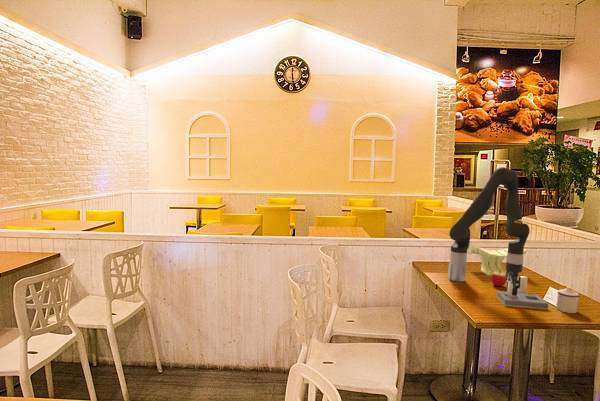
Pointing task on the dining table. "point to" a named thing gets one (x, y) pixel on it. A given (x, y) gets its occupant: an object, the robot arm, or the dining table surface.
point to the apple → (498, 278)
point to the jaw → (510, 291)
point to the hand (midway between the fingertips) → (511, 292)
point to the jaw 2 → (523, 285)
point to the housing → (523, 300)
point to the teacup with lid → (567, 300)
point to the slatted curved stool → (490, 258)
